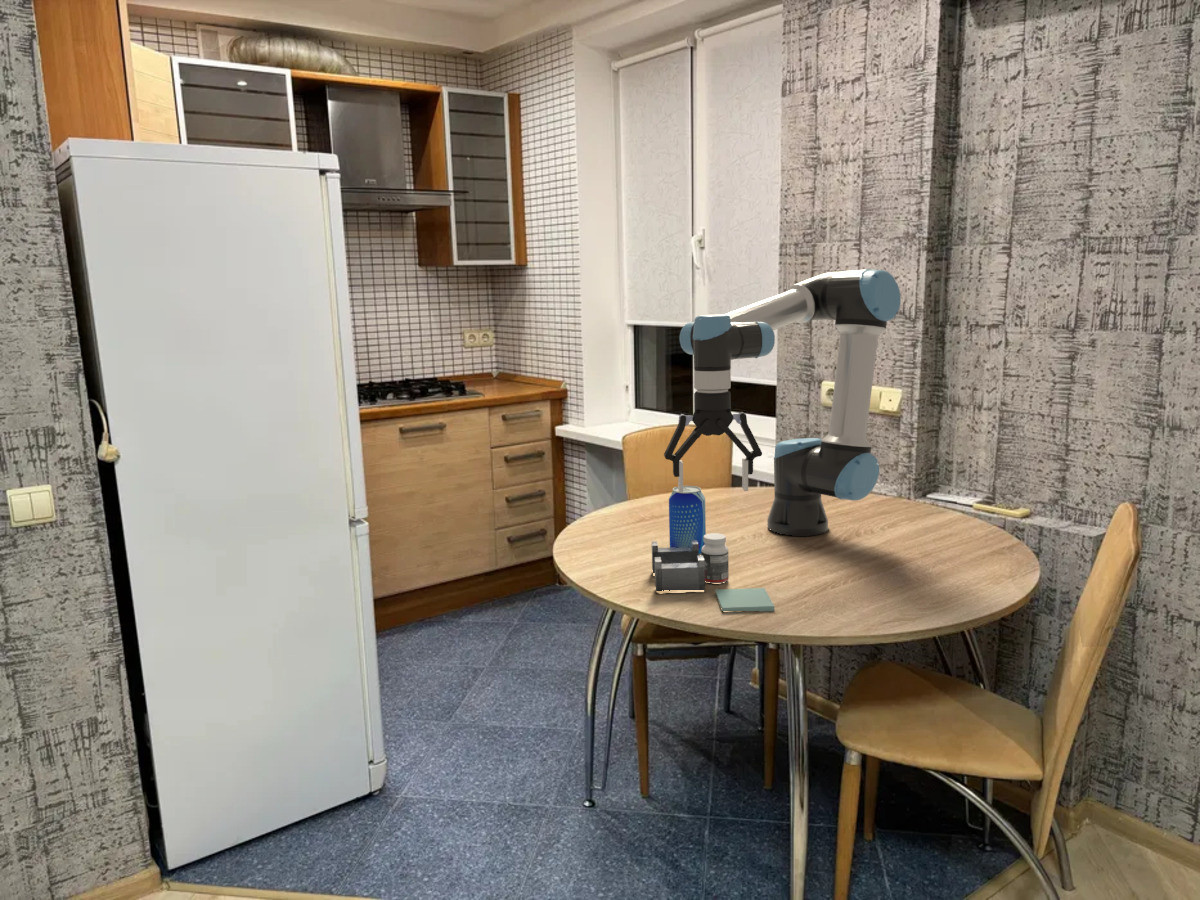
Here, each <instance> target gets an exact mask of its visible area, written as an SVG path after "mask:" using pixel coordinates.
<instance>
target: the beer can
mask: <svg viewBox="0 0 1200 900" xmlns="http://www.w3.org/2000/svg"><path fill="white" fill-rule="evenodd" d="M668 519H669V520H668V524H669V525H668V527H669V530H668V531H669V548H670V547H692V540H697V541H698V544H699V556H700V555H701V550H702V547H703V546H704V545H705V543H704V541H703V540H704V535H706V534H707V532H706V530H707V529H706V528H707V527H706V525H707V524H706V522H707V521H706V497H705V495H704V494H703V492H702V488H701V487H699V486H695V485H683V493H679V490H678V486H675V487H673V488H672V492H671V494H670V496H669V497H668Z"/></svg>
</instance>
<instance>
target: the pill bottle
mask: <svg viewBox="0 0 1200 900" xmlns="http://www.w3.org/2000/svg"><path fill="white" fill-rule="evenodd" d="M703 541H704V543H705V545H704V546H703V547H702V550H701V556H703V557H704V560H705V581H706V582H710V583H723V582H726V581H727V582H729V574H730V573H729V570H730V569H729V567H730V566H729V548H728V546H727V545H726V542H727V537H726V535H725V534H722V533H716V532H710V533H706V535H704V540H703ZM727 582H726V583H727Z"/></svg>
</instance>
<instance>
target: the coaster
mask: <svg viewBox="0 0 1200 900" xmlns="http://www.w3.org/2000/svg"><path fill="white" fill-rule="evenodd" d="M715 592H716V594H715V596H716V595H717V597H716V599H717V598H718V600H717V602H718V601H719V602H718V604H719V603H720V605H719V607H720V606H721V608H722V610H721V612H722V611H759V612H775V605H774V602H773V601H772V599H771V598H770V596H769V594H768V592H767V590H766V588H765V587H754V588H753V587H752V588H729V589H728V588H725V589H723V588H722V589H720V588H719V589H715ZM715 592H714V593H715ZM721 608H720V609H721Z"/></svg>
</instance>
